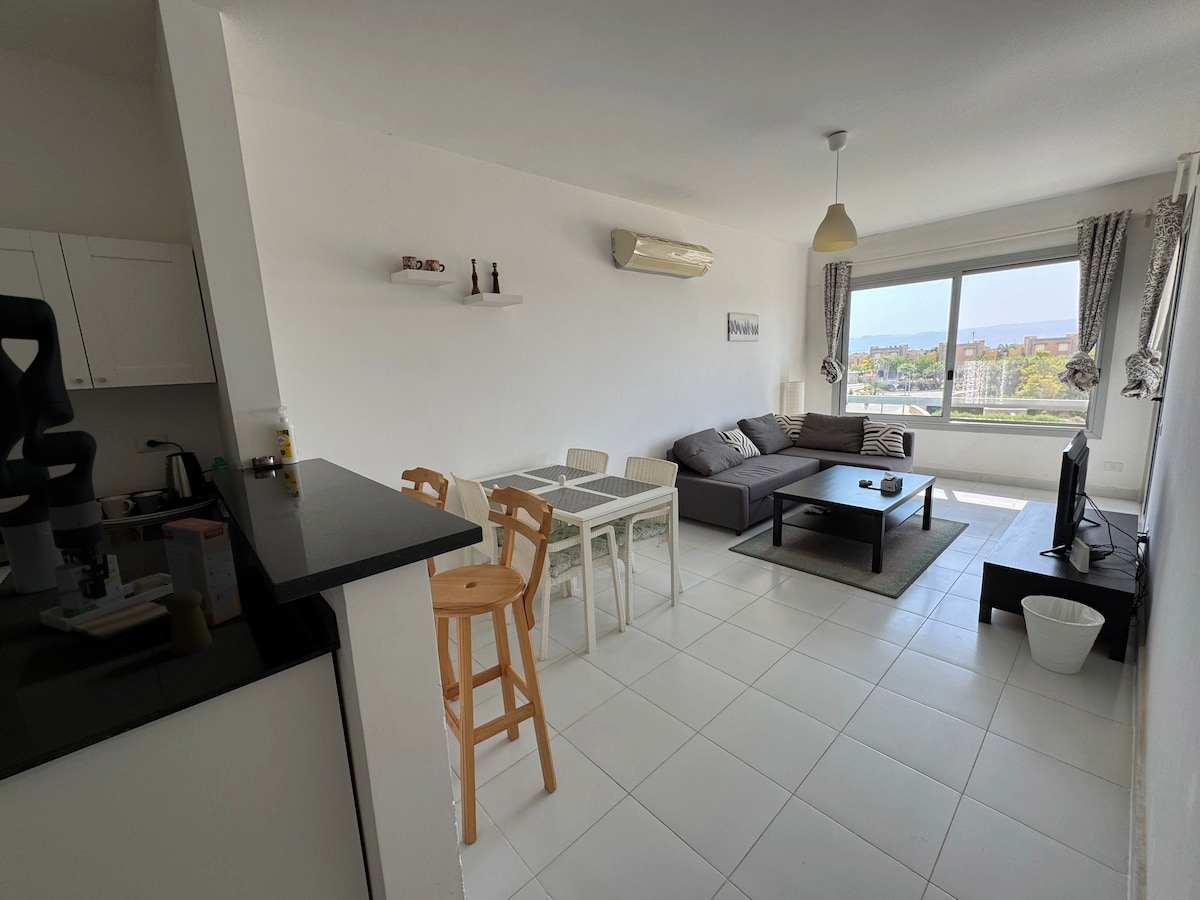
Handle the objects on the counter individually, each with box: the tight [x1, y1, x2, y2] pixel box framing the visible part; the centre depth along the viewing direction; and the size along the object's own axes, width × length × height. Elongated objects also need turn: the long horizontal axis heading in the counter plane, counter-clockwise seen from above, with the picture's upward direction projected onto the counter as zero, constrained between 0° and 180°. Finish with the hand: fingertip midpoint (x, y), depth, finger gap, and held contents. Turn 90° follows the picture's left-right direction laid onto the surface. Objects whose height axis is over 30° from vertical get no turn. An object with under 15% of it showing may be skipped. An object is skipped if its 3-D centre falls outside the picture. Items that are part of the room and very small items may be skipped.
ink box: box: [54, 553, 126, 619], centre depth 107 cm, size 9×5×12 cm, turn 168°
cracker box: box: [160, 517, 243, 627], centre depth 103 cm, size 14×6×21 cm, turn 65°
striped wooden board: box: [73, 601, 170, 639], centre depth 103 cm, size 12×12×1 cm
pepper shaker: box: [165, 590, 213, 657], centre depth 91 cm, size 6×6×11 cm
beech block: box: [131, 574, 164, 596], centre depth 116 cm, size 4×4×4 cm
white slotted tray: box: [38, 572, 173, 633], centre depth 111 cm, size 12×22×2 cm, turn 157°
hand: (92, 595), depth 107 cm, fingers closed on ink box, 5 cm apart
